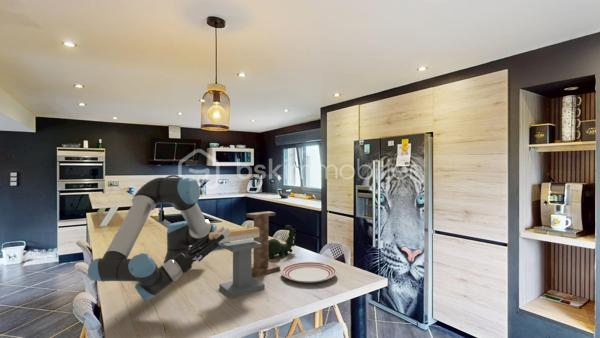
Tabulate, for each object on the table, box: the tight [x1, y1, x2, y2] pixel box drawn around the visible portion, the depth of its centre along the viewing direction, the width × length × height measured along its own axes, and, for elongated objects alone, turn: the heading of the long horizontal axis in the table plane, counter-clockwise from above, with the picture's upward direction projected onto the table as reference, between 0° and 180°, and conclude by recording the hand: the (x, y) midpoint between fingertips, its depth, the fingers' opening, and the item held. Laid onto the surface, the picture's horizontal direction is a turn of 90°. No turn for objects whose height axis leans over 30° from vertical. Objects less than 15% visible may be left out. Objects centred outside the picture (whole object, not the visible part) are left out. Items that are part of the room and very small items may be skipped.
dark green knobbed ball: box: [268, 224, 297, 259], centre depth 187 cm, size 9×19×25 cm
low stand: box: [219, 238, 266, 299], centre depth 136 cm, size 16×12×20 cm
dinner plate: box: [280, 261, 338, 284], centre depth 153 cm, size 28×27×3 cm
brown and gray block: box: [209, 226, 259, 244], centre depth 134 cm, size 22×4×4 cm, turn 128°
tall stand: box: [246, 210, 281, 278], centre depth 161 cm, size 16×12×30 cm
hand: (226, 230), depth 132 cm, fingers closed on brown and gray block, 4 cm apart
